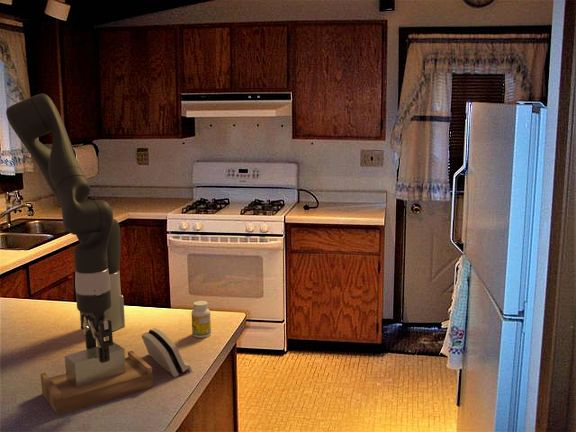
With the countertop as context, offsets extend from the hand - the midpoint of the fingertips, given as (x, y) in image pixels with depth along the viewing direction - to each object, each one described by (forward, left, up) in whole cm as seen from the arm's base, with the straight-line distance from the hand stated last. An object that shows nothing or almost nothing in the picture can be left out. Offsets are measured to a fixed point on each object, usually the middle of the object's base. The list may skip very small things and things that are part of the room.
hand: (97, 355), depth 142 cm
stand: (0, 0, -9) cm, 9 cm away
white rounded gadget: (-18, -4, -9) cm, 21 cm away
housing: (+1, 0, -5) cm, 5 cm away
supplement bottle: (-36, -16, -9) cm, 40 cm away
